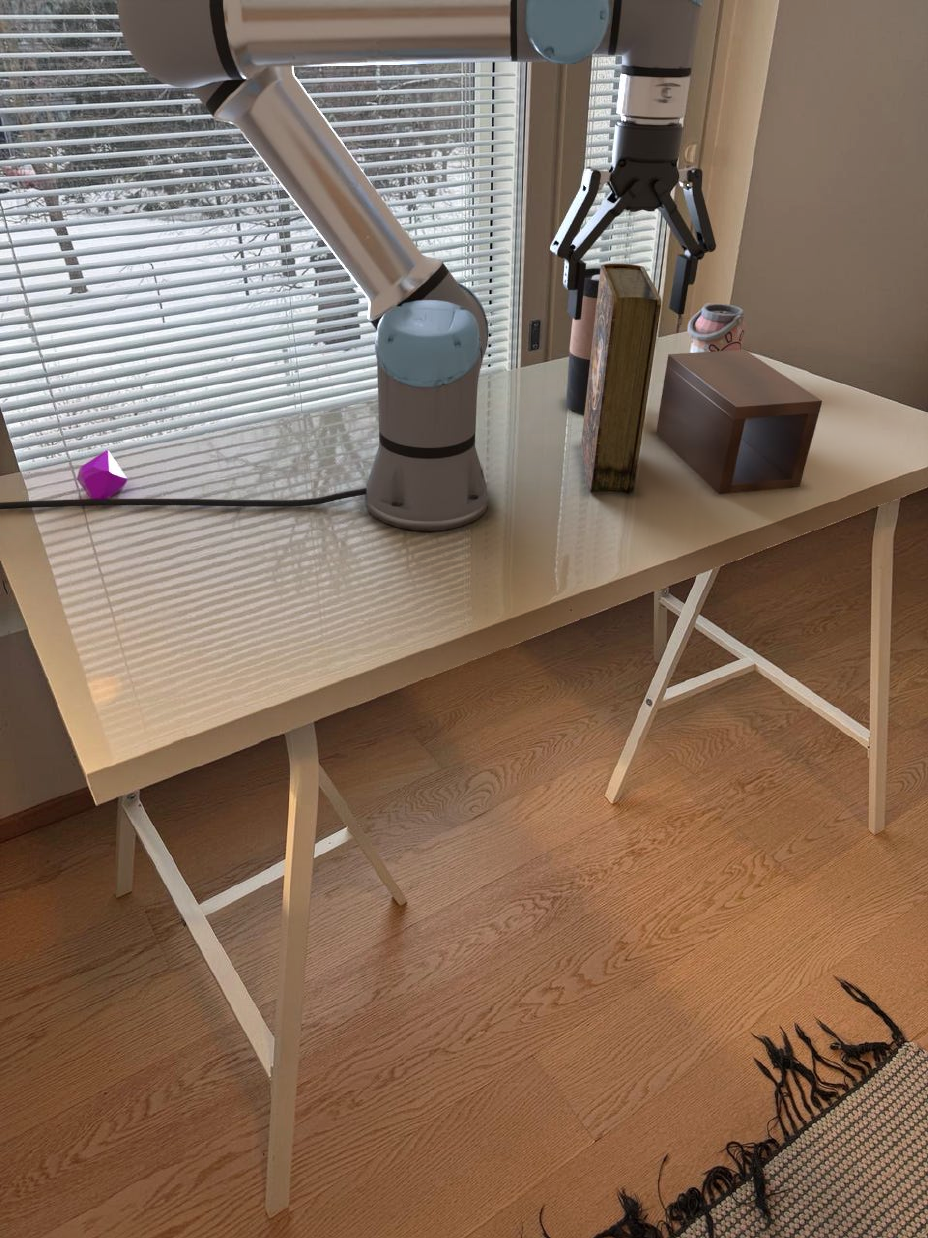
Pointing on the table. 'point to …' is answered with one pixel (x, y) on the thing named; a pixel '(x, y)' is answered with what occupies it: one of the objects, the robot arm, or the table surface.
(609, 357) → the book
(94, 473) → the crystal
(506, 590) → the table surface
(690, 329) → the patterned ceramic cup
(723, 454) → the shelf
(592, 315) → the travel mug
